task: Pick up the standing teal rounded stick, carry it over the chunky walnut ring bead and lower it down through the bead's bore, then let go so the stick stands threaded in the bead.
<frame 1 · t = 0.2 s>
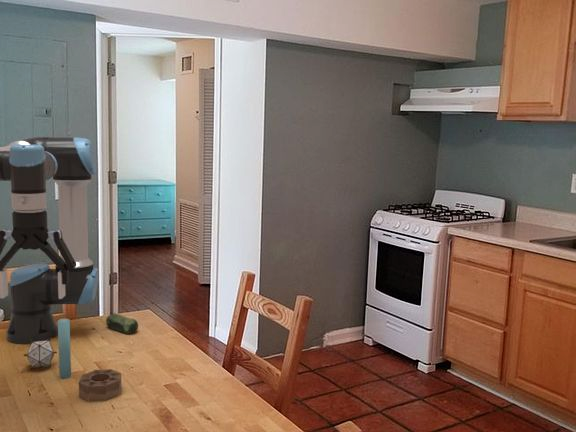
hand: (33, 297, 138), 27 cm above the table, fingers open, 13 cm apart
vegetable: (121, 330, 194), on the table
teal rounded stick: (65, 376, 157), on the table
game die: (41, 367, 163), on the table
bead: (100, 391, 148), on the table
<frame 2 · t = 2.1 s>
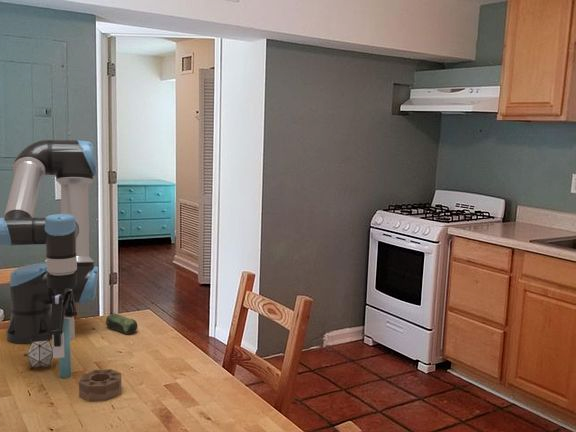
hand: (64, 347, 156), 8 cm above the table, fingers open, 13 cm apart
nothing on the table moved.
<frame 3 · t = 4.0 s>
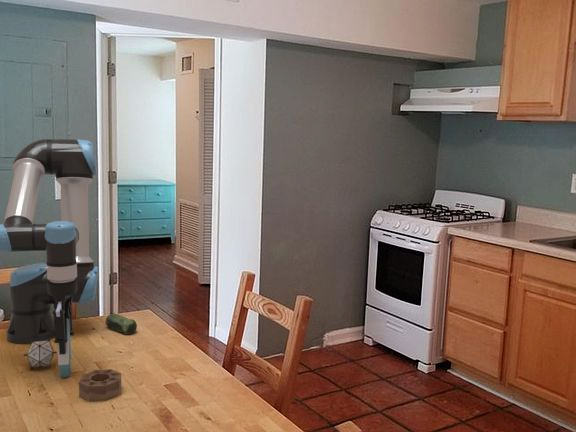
hand: (65, 361, 157), 4 cm above the table, fingers closed on teal rounded stick, 3 cm apart
teal rounded stick: (65, 375, 157), on the table, touching gripper
everything else where it was.
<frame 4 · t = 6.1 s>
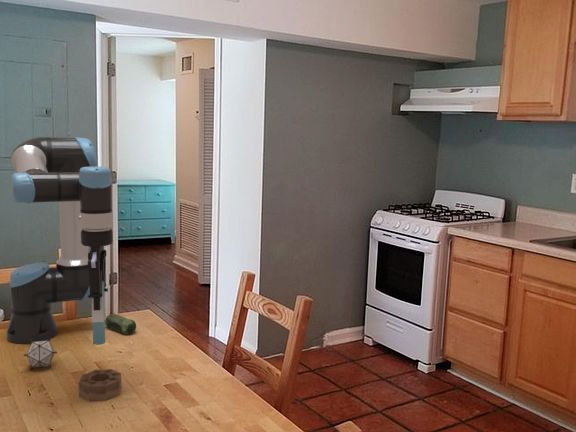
hand: (98, 319, 145), 20 cm above the table, fingers closed on teal rounded stick, 3 cm apart
teal rounded stick: (99, 342, 146), point 14 cm above the table, touching gripper
everything else where it was.
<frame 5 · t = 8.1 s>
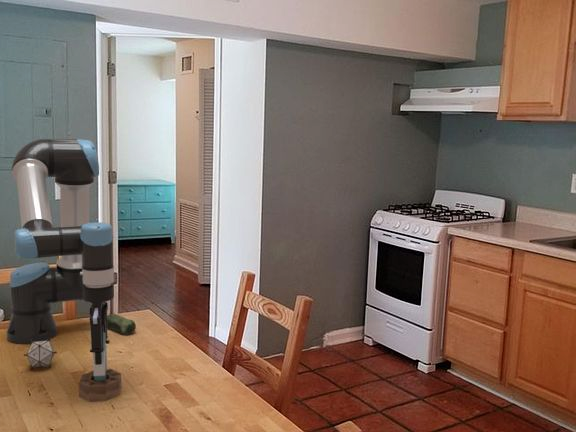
hand: (100, 371, 147), 6 cm above the table, fingers closed on teal rounded stick, 3 cm apart
teal rounded stick: (100, 392, 148), resting in bead, touching gripper
everything else where it was.
when the fingers open (5 cm above the table, at t = 8.8 s): teal rounded stick stays where it is, resting in bead.
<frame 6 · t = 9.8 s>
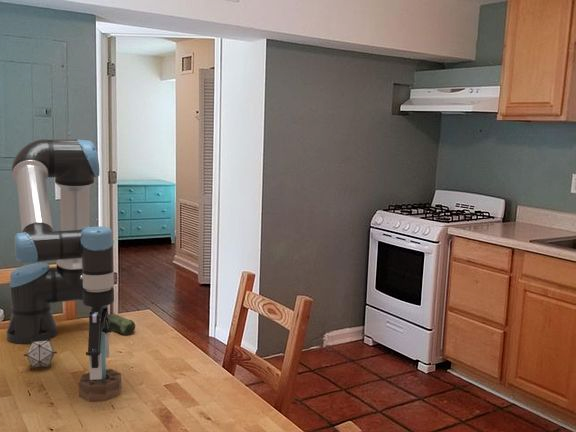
hand: (100, 367, 147), 7 cm above the table, fingers open, 13 cm apart
teal rounded stick: (100, 392, 148), resting in bead
everything else where it was.
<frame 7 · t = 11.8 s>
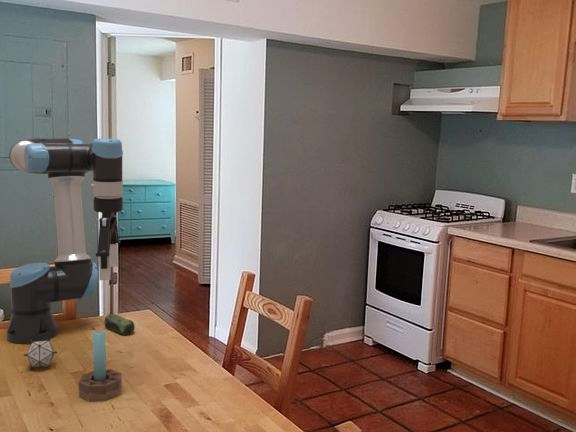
hand: (109, 273, 156), 29 cm above the table, fingers open, 13 cm apart
nothing on the table moved.
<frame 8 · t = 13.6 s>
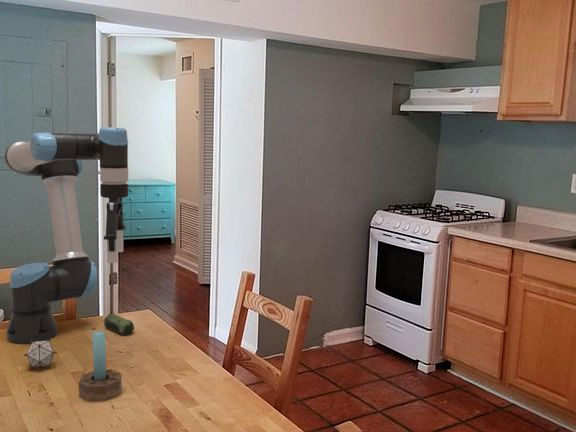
hand: (115, 257, 162), 32 cm above the table, fingers open, 13 cm apart
at the end: teal rounded stick 0.2 cm off-centre on the bead, point 0.0 cm above the bead's base; teal rounded stick tilted 0°; the gripper is holding nothing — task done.
